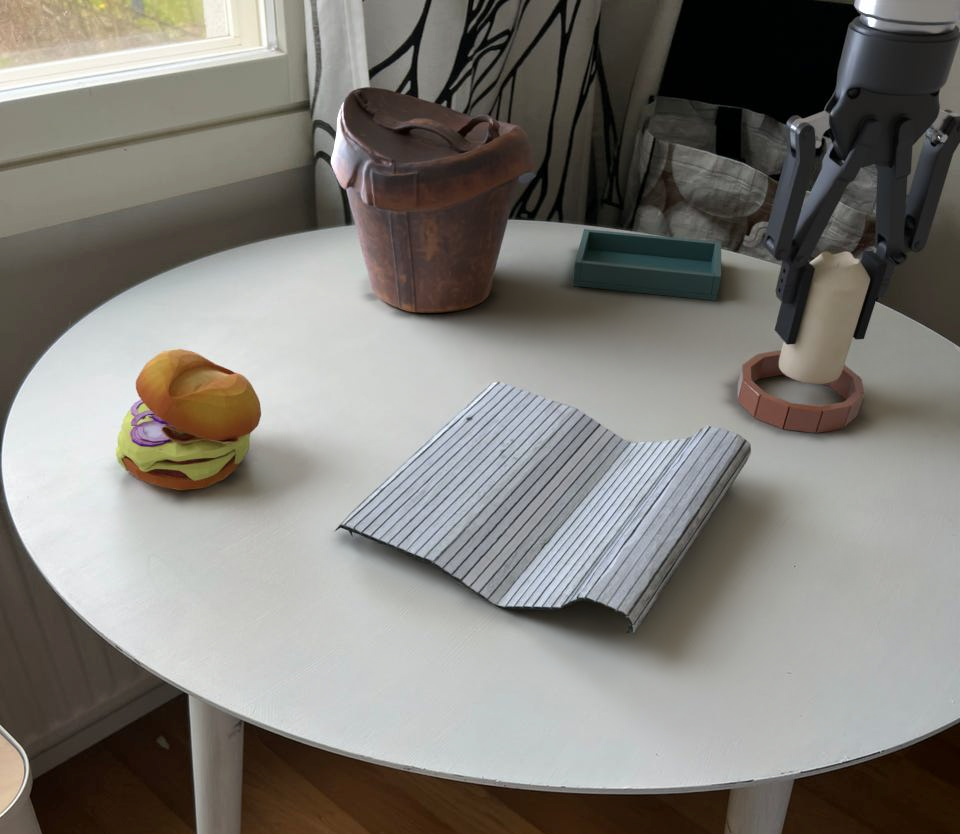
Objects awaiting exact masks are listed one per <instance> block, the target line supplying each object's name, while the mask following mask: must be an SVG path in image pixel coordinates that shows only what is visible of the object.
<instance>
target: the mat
mask: <svg viewBox="0 0 960 834" xmlns="http://www.w3.org/2000/svg"><path fill="white" fill-rule="evenodd" d="M751 454H752V445H751V442H749V441H748V440H747V439H746V438H744V437H743V436H742V435H741V434H738V433H735V432H732V431H729V430H727V429H723V428H720V427H715V426H710V425H707V426H705V427H702V428H699V430H697V432H695V433H694V434H693V435H691V436H688V437H686V438H680V439H678V438H677V439H668V440H664V441H642V442H641V441H640V442H635V441H628V440H625V439H624V438H622V437H621V436H619V435H618V434H616V433H615V432H613V431H612V430H610V429H608V428H607V427H606V426H604V425H602V424H601V423H600V422H598V421H597V420H595V419H594V418H593V417H591V416H590V415H588V414H586V413H585V412H583V411H582V410H580V409H578V408H577V407H575V406H571V405H568V404H565V403H562V402H560V401H556V400H553V399H550V398H547V397H545V396H543V395H539V394H537V393H533V392H531V391H527V390H525V389H522V388H519V387H516V386H514V385H512V384H511V385H510V384H508V383H505V382H501V381H495V382H492V383H489V384H488V385H487V386H486V387H484V389H483V390H482V391H481V392H480V393H478V394H477V395H476V396H475V397H474V398H473V399H472V400H471V401H470V402H469V403H468V404H467V405H466V406H465V407H463V409H461V410H459V412H458V413H457V414H456V415H454V416H453V417H452V419H450V420H449V421H448V422H447V423H446V424H445V425H444V426H442V428H441V429H439V430H438V431H437V432H436V433H435V434H434V435H433V436H432V437H431V438H430V439H428V440H427V441H426V442H425V443H424V444H423V445H422V446H421V447H419V449H417V450H416V451H415V452H414V454H412V455H411V456H410V457H409V458H408V459H407V460H406V461H404V463H402V464H401V465H400V466H399V467H398V468H397V469H396V470H395V471H394V472H393V473H392V474H391V475H390V476H388V477H387V478H386V479H385V480H384V481H383V482H382V483H381V484H380V485H379V486H377V487H376V488H375V489H374V490H373V491H372V492H371V493H369V495H368V496H367V497H366V498H365V499H364V500H362V502H360V503H359V504H358V506H356V507H355V508H354V509H353V510H352V511H351V512H350V513H349V514H348V515H347V516H346V517H345V518H344V520H343V521H342V522H341V523H340V524H339V525H338V526H337V528H336V529H335V530H334V531H333V533H335V532H336V531H338V530H339V529H343V530H344V531H345V530H346V531H348V533H349V534H350V536H351V537H352V538H354V536H353V535H354V534H356V535H359V536H361V537H363V538H366V539H368V540H371V541H373V542H376V543H377V544H380V545H385V546H387V547H389V548H391V549H394V550H396V551H399V552H401V553H404V554H405V555H408V556H410V557H413V558H415V559H417V560H419V561H422V562H424V563H426V564H428V565H430V566H433V567H435V568H436V569H439V570H440V571H441V572H443V573H445V574H446V575H448V576H450V577H451V578H453V579H454V580H456V581H458V582H459V583H461V585H463V586H465V587H466V588H468V589H469V590H470V591H472V592H473V593H475V594H476V595H478V596H479V597H481V598H482V599H484V600H486V601H487V602H489V603H491V604H492V605H494V606H496V607H497V608H503V609H508V610H534V611H535V610H538V611H558V610H561V609H563V608H566V607H568V606H572V604H576V603H578V602H581V601H584V602H590V603H591V602H592V603H597V604H598V603H599V604H600V605H603V606H604V607H606V608H609V609H611V610H613V611H615V612H617V613H620V614H621V615H622V616H623V617H625V618H626V619H627V620H628V621H629V625H628V627H627V629H626V633H627V634H629V633H631V634H634V633H635V632H636V630H637V629H638V628H639V627H640V626H641V624H642V623H643V622H644V620H645V619H646V617H647V616H648V614H649V613H650V612H651V610H652V609H653V606H654V605H655V603H656V601H657V600H658V598H659V596H660V595H661V593H662V591H663V590H664V589H665V588H666V586H667V585H668V583H669V582H670V581H671V579H672V577H673V575H674V574H675V572H676V571H677V570H678V567H679V566H680V564H681V562H682V561H683V560H684V558H685V556H686V555H687V553H688V551H689V550H690V549H691V547H692V545H693V544H694V542H695V541H696V539H697V538H698V536H699V535H700V533H701V531H702V530H703V529H704V527H705V526H706V524H707V523H708V521H709V520H710V518H711V516H712V515H713V513H714V512H715V511H716V509H717V508H718V506H719V504H720V503H721V502H722V500H723V498H724V497H725V496H726V494H727V493H728V491H729V489H730V488H731V486H732V485H733V483H734V482H735V481H736V479H737V478H738V476H739V474H740V473H741V472H742V470H743V469H744V467H745V466H746V464H747V462H748V460H749V458H750V456H751ZM353 533H354V534H353Z"/></svg>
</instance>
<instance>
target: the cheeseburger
mask: <svg viewBox="0 0 960 834" xmlns="http://www.w3.org/2000/svg"><path fill="white" fill-rule="evenodd" d="M135 390H136V393H137V396H138V397H139V398H140V399H139V400H138V401H136V402H134V403H133V404H132V406H131V407H130V409H129V410H128V412H126V414H125V416H124V418H123V419H122V422H121V423H122V424H121V430H120V431H119V433H118V434H117V445H116V447H115V455H116V459H117V462H118V464H119V465H120V466H121V467H122V468H123V469H124V470H125V472H127V473H130V474H131V475H132V476H134V477H135V478H137V479H138V480H140V481H143V482H146V483H149V484H151V485H154V486H157V487H161V488H166V489H172V490H177V491H185V490H186V491H187V490H196V489H205V488H207V487H210V486H211V485H214V484H216V483H218V482H220V481H223V480H225V479H226V478H227V477H229V475H230V474H232V473H233V472H234V471H235V470H236V469H237V468H238V466H239V464H241V463H242V461H243V460H244V458H245V456H246V455H247V452H248V450H249V447H250V439H251V438H250V437H251V434H252V433H253V431H255V430H256V428H257V427H258V426H259V424H260V421H261V417H262V408H261V401H260V399H259V397H258V394H257V393H256V391H255V389H254V386H253V385H252V383H251V381H249V379H247V377H245V375H243V374H241V373H239V372H235V371H233V370H231V369H229V368H227V367H224V366H221V365H219V364H217V363H214V362H213V361H211V360H209V359H208V358H206V357H205V356H203V355H202V354H199V353H198V352H194V351H192V350H187V349H181V348H178V349H170V350H163V351H161V352H160V353H158V354H156V355H155V356H154V357H153V358H151V359H149V360H148V361H147V362H146V363H145V365H144V366H143V368H142V369H141V371H140V372H139V373H138V375H137V377H136V380H135Z"/></svg>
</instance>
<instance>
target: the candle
mask: <svg viewBox="0 0 960 834" xmlns="http://www.w3.org/2000/svg"><path fill="white" fill-rule="evenodd" d="M809 263H810V264H811V265H812V266H813V267H814V268H815V271H814V275H813V279H812V282H811V286H810V290H809V294H808V298H807V301H806V305H805V309H804V313H803V316H802V320H801V324H800V328H799V332H798V335H797V339H796V343H795V344H788V345H787V344H786V343H785V342H784V341H782V346H781V349H780V350H781V354H780V358H779V368H780V370H781V371H782V372H783V373H784V374H785V375H786V377H788V378H790V379H792V380H795V381H797V382H800V383H805V384H811V385H825V384H824V383H830V382H833V381H835V380H837V379H838V378H839V377H840V375H841V373H842V370H843V367H844V365H846V361H847V358H848V354H849V352H850V347H851V345H852V341H853V339H854V337H853V335H854V332H855V328H856V325H857V322H858V319H859V315H860V312H861V309H862V306H863V302H864V299H865V296H866V293H867V289H868V286H869V283H870V277H869V275H868V273H867V271H866V270H865V268H864V267H863V265H862V264H861V259H859V258H855V257H854V255H853V254H852V252H850V251H842V252H839V253H835V254H833V253H831V252H830V251H822V252H821V253H820V254H819V255H818V256H816V257H815V258H814V259H812V260H811V261H809ZM785 375H784V376H785Z"/></svg>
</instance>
